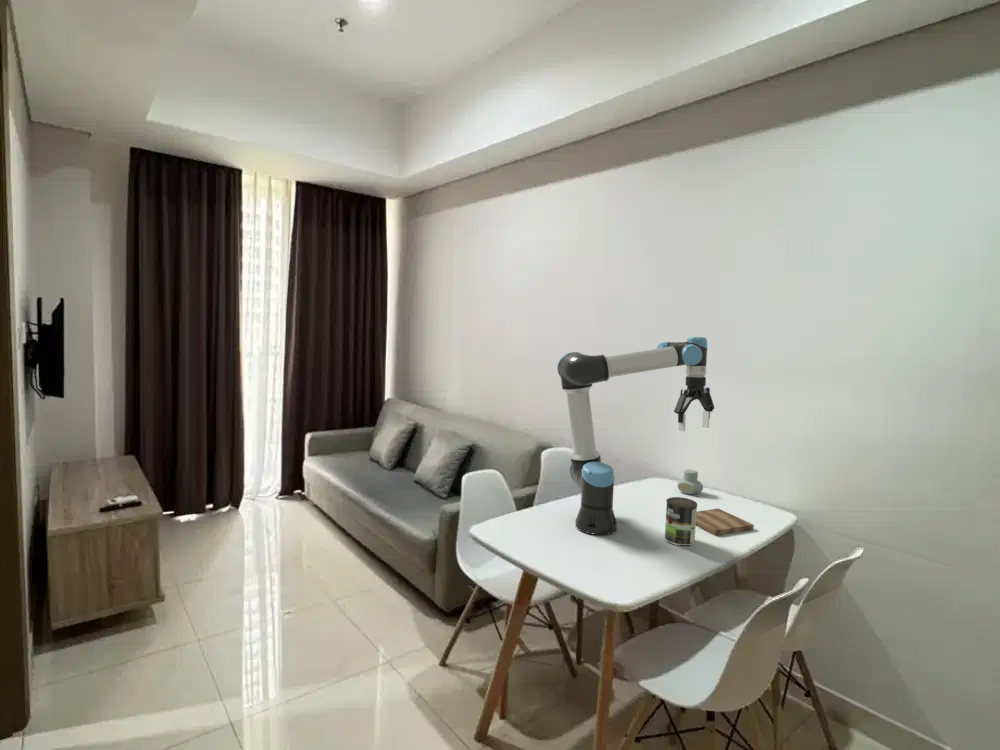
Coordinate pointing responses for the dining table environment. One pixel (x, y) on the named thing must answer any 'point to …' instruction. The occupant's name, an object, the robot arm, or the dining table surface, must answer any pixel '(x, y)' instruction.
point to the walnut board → (721, 522)
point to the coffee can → (680, 521)
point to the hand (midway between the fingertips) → (693, 429)
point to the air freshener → (690, 483)
